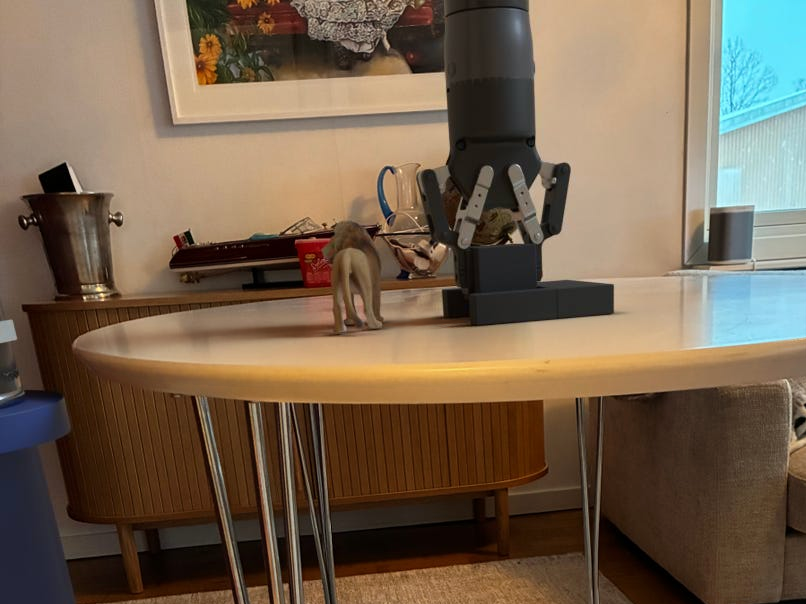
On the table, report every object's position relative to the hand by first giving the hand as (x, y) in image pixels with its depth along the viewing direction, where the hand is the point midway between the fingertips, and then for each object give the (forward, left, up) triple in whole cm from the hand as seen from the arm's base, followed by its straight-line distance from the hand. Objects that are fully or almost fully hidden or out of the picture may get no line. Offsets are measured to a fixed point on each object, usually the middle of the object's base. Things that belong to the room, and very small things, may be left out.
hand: (499, 290), depth 88 cm
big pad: (+2, 0, -2) cm, 3 cm away
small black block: (0, 0, -1) cm, 1 cm away
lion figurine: (-13, +3, -3) cm, 14 cm away
